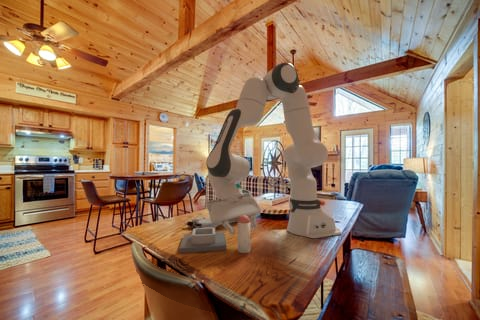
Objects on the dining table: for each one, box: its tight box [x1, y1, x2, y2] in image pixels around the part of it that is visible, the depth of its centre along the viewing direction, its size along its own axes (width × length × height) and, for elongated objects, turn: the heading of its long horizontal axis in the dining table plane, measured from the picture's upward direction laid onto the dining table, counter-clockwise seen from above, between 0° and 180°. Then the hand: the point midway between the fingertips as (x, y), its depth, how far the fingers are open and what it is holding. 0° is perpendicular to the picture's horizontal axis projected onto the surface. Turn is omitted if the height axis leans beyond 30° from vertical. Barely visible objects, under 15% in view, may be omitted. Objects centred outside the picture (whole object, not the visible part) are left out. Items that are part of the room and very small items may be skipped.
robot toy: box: [183, 216, 220, 229], centre depth 96 cm, size 12×4×15 cm
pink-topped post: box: [237, 215, 251, 254], centre depth 73 cm, size 4×4×12 cm
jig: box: [178, 227, 227, 254], centre depth 79 cm, size 16×14×4 cm
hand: (244, 230), depth 72 cm, fingers open, 8 cm apart
